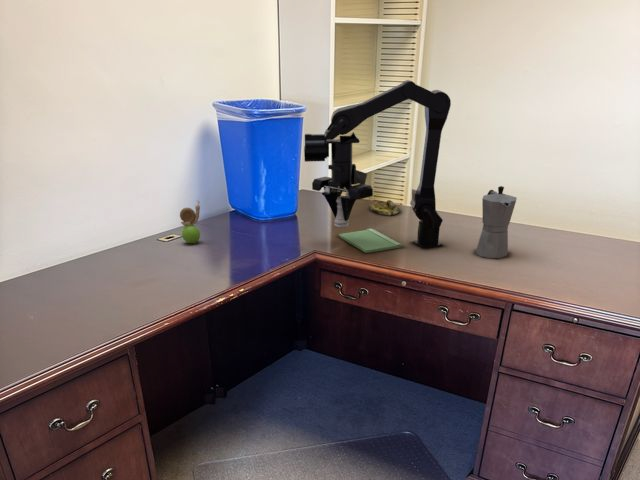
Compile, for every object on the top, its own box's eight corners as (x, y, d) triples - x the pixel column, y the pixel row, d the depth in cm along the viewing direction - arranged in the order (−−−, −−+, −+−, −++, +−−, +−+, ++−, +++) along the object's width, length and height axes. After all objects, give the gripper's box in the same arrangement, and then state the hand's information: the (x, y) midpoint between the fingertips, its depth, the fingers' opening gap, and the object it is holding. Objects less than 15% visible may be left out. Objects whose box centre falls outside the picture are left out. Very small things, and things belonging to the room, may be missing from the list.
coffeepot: (515, 260, 163) (527, 191, 153) (482, 261, 163) (491, 192, 153) (497, 243, 176) (507, 178, 166) (466, 244, 176) (474, 179, 166)
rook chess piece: (331, 225, 174) (331, 196, 169) (345, 223, 175) (346, 194, 171) (337, 229, 170) (337, 199, 166) (351, 227, 172) (352, 198, 167)
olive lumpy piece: (365, 209, 215) (380, 219, 203) (364, 195, 212) (379, 205, 200) (389, 204, 216) (406, 213, 204) (388, 190, 214) (405, 199, 202)
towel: (402, 247, 174) (402, 243, 174) (365, 253, 170) (365, 249, 170) (373, 231, 188) (373, 228, 187) (338, 236, 184) (338, 233, 183)
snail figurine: (206, 244, 180) (201, 202, 173) (185, 246, 178) (179, 205, 171) (202, 239, 184) (197, 198, 177) (181, 241, 182) (175, 200, 175)
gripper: (387, 160, 162) (384, 219, 171) (338, 152, 173) (338, 208, 182) (359, 166, 156) (358, 227, 164) (310, 158, 167) (311, 215, 176)
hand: (341, 219), depth 172 cm, fingers closed on rook chess piece, 3 cm apart
